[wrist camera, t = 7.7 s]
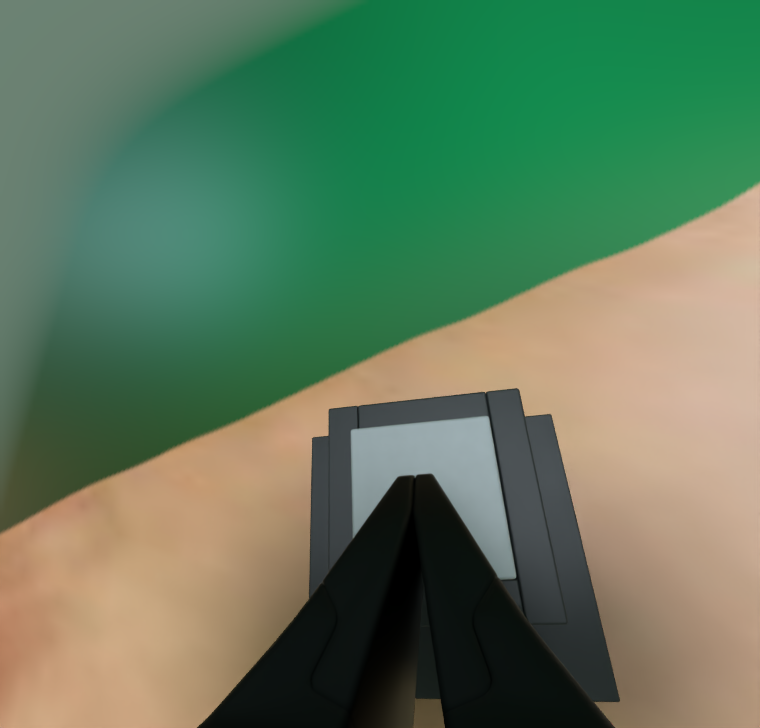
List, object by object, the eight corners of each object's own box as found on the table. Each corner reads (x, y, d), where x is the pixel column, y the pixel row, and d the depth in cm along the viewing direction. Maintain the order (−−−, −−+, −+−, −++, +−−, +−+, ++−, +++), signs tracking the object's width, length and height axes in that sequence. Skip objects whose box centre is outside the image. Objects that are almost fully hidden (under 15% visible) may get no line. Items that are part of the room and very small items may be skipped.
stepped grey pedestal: (582, 659, 15) (647, 732, 10) (340, 659, 17) (284, 722, 11) (530, 422, 19) (558, 382, 14) (338, 440, 20) (296, 412, 15)
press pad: (506, 568, 12) (517, 579, 10) (372, 573, 13) (352, 584, 10) (484, 432, 14) (489, 414, 11) (367, 443, 14) (349, 428, 12)
